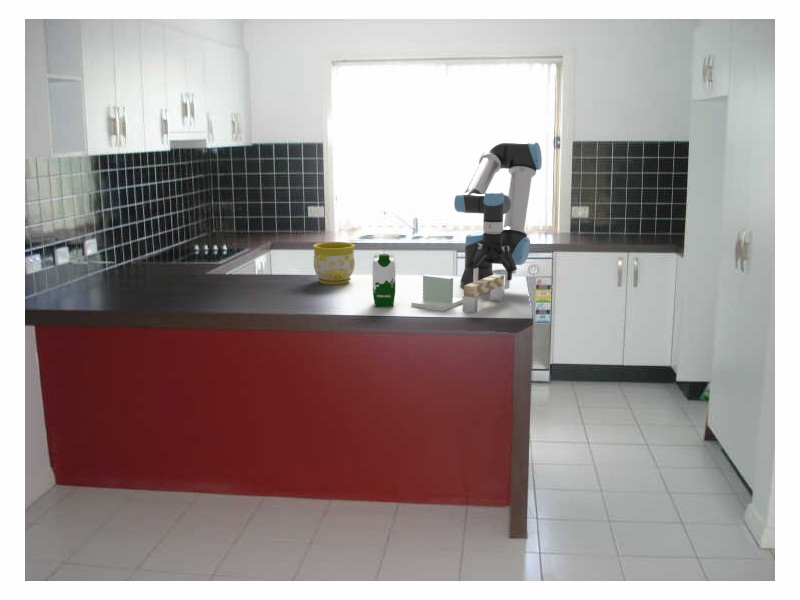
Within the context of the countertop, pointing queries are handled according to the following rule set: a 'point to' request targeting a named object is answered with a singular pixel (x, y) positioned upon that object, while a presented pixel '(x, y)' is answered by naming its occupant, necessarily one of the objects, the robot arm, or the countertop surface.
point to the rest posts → (472, 302)
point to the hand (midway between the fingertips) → (491, 286)
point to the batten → (483, 285)
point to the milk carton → (384, 281)
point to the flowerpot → (334, 262)
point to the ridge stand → (437, 293)
